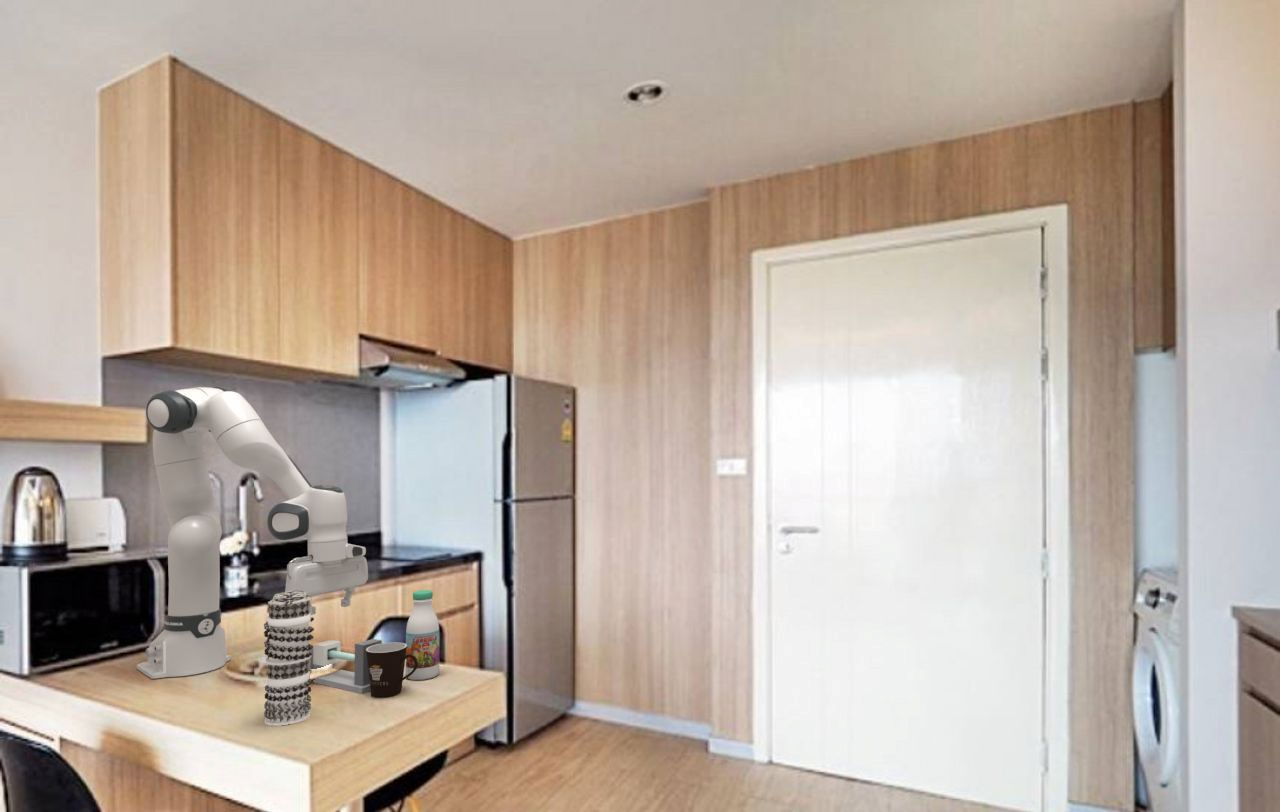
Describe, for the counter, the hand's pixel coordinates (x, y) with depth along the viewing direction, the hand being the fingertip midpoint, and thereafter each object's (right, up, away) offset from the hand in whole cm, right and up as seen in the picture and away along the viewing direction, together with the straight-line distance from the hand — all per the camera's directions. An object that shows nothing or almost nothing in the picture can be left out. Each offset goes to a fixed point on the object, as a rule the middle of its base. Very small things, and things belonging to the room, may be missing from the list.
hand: (328, 610), depth 169 cm
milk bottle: (+23, -16, -1) cm, 28 cm away
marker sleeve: (0, -12, -1) cm, 12 cm away
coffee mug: (+20, -15, -14) cm, 28 cm away
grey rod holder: (+6, -16, -4) cm, 17 cm away
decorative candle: (+4, -14, -27) cm, 31 cm away
